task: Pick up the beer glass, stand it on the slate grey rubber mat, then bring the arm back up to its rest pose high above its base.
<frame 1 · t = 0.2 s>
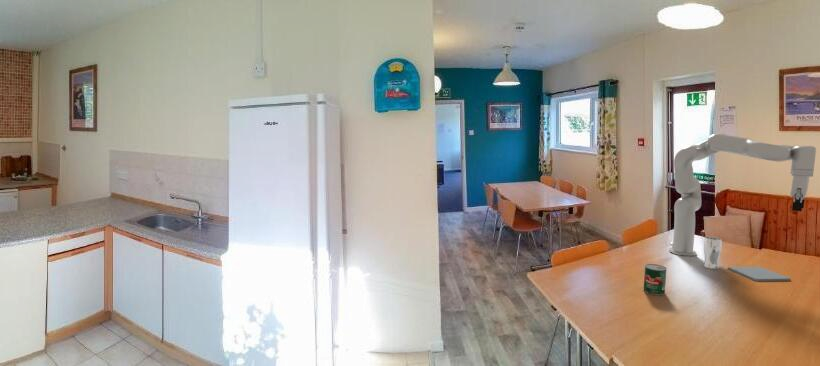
hand: (797, 209, 188), 31 cm above the table, tool pointing down, fingers open, 9 cm apart
beer glass: (710, 267, 202), on the table
grey mat: (757, 274, 191), on the table
canned tomato: (653, 292, 173), on the table
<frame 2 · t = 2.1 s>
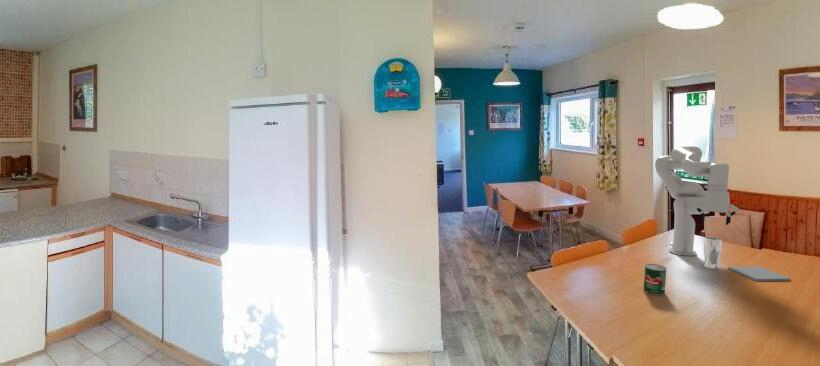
hand: (714, 223, 198), 23 cm above the table, tool pointing down, fingers open, 9 cm apart
nothing on the table moved.
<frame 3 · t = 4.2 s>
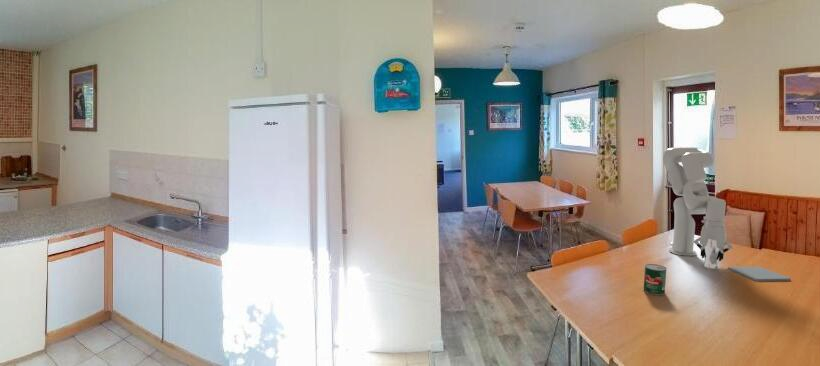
hand: (711, 258, 201), 4 cm above the table, tool pointing down, fingers closed on beer glass, 6 cm apart
beer glass: (710, 267, 202), on the table, touching gripper
everything else where it was.
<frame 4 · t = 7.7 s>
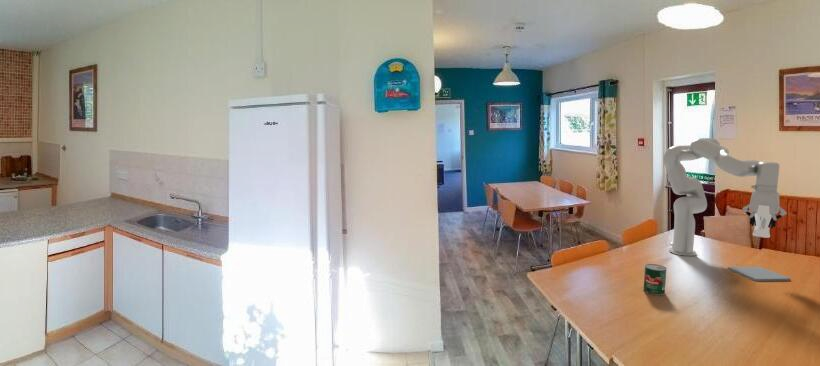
hand: (762, 226, 188), 23 cm above the table, tool pointing down, fingers closed on beer glass, 6 cm apart
beer glass: (761, 236, 188), point 19 cm above the table, touching gripper
everything else where it was.
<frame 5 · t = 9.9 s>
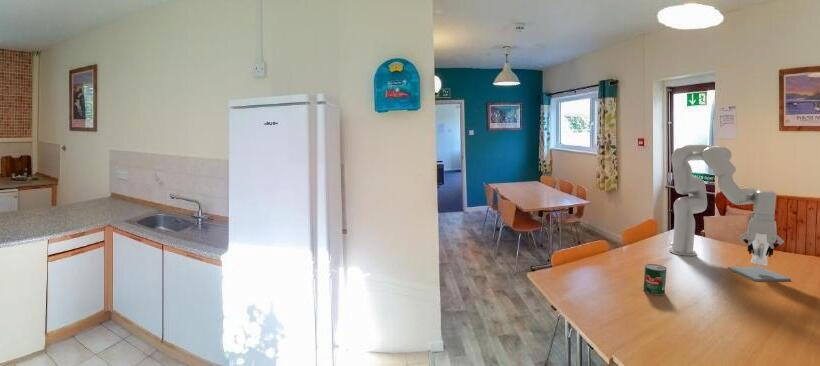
hand: (759, 254, 189), 10 cm above the table, tool pointing down, fingers closed on beer glass, 6 cm apart
beer glass: (759, 264, 190), point 5 cm above the table, touching gripper
everything else where it was.
when the fingers open (7 cm above the table, at t = 11.5 s): beer glass drops 1 cm, resting on grey mat.
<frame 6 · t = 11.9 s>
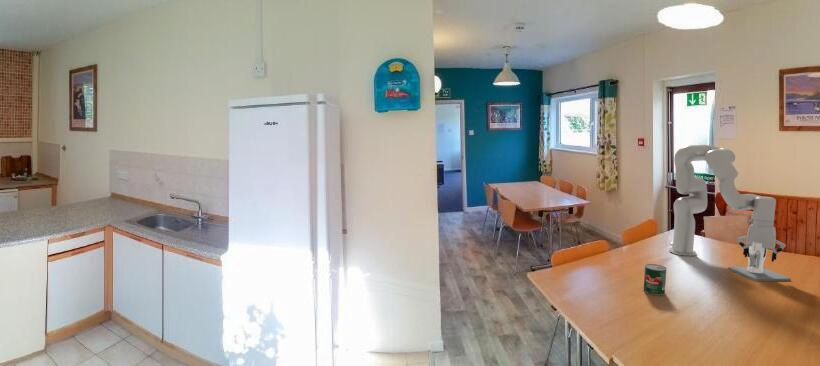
hand: (759, 258, 190), 8 cm above the table, tool pointing down, fingers open, 9 cm apart
beer glass: (754, 272, 191), point 1 cm above the table, touching grey mat, gripper
everything else where it was.
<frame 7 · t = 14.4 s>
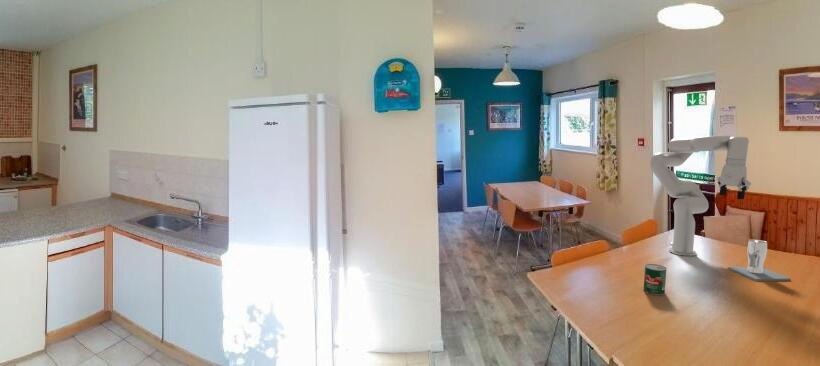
hand: (731, 197, 197), 35 cm above the table, tool pointing down, fingers open, 9 cm apart
beer glass: (754, 272, 191), point 1 cm above the table, touching grey mat
everything else where it was.
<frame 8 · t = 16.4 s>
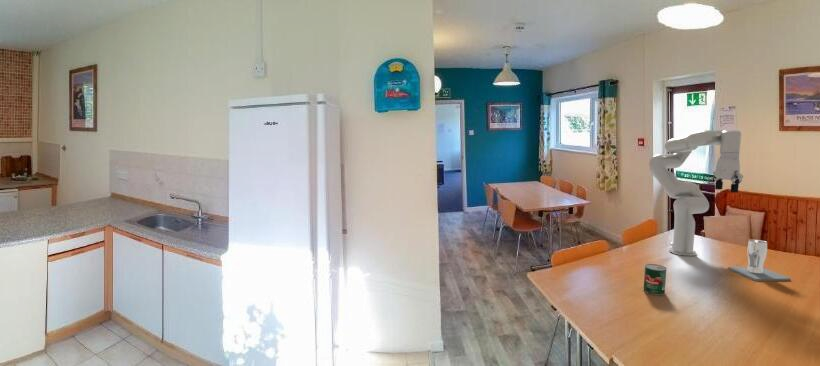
hand: (726, 190, 199), 38 cm above the table, tool pointing down, fingers open, 9 cm apart
nothing on the table moved.
at the end: beer glass inside the target area on the grey mat (1.1 cm from its centre), point 0.8 cm above the grey mat's base; beer glass tilted 0°; the gripper is holding nothing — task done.
